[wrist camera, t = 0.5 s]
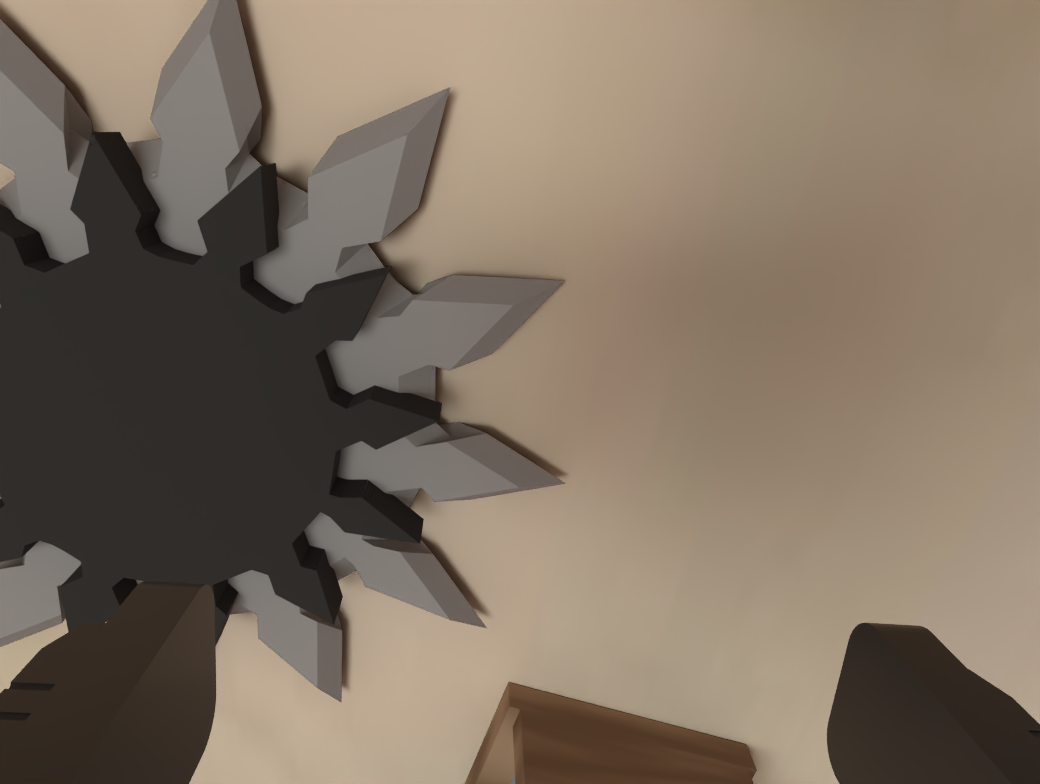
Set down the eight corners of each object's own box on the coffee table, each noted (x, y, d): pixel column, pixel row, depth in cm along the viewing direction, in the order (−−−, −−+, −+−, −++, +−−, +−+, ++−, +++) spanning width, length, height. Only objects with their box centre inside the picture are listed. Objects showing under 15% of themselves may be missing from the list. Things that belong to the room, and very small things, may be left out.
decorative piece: (-496, 464, 25) (-25, -373, 18) (-369, 420, 29) (61, -290, 22) (256, 885, 33) (776, 402, 26) (279, 808, 36) (740, 368, 30)
